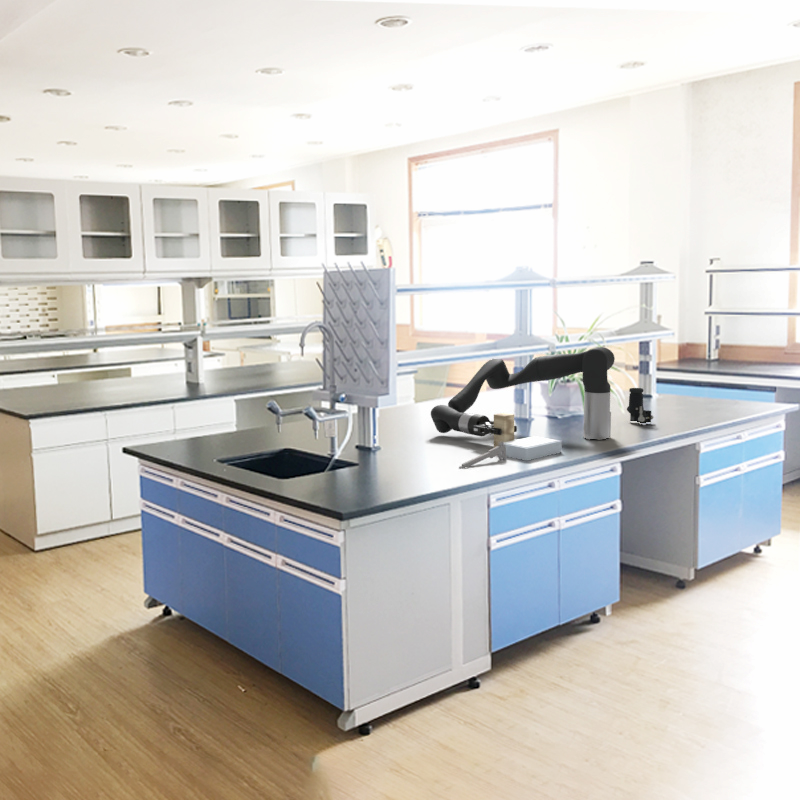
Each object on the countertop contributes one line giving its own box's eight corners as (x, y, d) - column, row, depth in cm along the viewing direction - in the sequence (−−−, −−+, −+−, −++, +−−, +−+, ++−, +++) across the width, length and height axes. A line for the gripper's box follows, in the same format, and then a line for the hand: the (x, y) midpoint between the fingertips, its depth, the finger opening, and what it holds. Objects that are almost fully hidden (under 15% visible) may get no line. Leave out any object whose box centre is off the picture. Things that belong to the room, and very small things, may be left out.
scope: (642, 391, 330) (621, 388, 338) (641, 426, 332) (620, 422, 340) (655, 389, 335) (634, 386, 343) (654, 423, 337) (633, 420, 345)
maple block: (503, 446, 297) (503, 412, 295) (514, 448, 293) (514, 414, 291) (493, 448, 293) (493, 414, 292) (504, 450, 290) (504, 416, 288)
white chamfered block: (534, 447, 295) (534, 435, 294) (561, 452, 286) (561, 440, 285) (499, 454, 283) (499, 442, 282) (526, 460, 274) (526, 447, 273)
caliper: (503, 459, 278) (503, 440, 277) (506, 459, 277) (506, 441, 276) (458, 468, 265) (458, 449, 264) (461, 469, 264) (461, 449, 263)
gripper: (460, 416, 298) (494, 422, 285) (487, 411, 307) (522, 417, 295) (460, 437, 299) (494, 444, 287) (487, 432, 308) (522, 438, 296)
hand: (508, 430), depth 291 cm, fingers open, 7 cm apart
